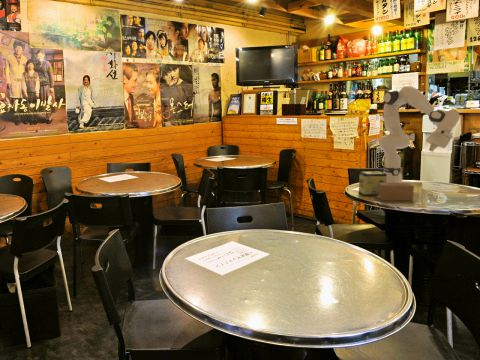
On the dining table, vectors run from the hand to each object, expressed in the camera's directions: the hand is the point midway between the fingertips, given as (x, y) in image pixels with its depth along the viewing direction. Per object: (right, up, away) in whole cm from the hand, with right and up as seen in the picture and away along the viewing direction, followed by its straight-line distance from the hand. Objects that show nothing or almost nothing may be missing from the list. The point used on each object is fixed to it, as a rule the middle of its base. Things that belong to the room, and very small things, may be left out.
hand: (430, 150), depth 282 cm
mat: (-26, -33, -5) cm, 42 cm away
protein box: (-35, -30, +13) cm, 48 cm away
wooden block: (-14, -27, -4) cm, 31 cm away
